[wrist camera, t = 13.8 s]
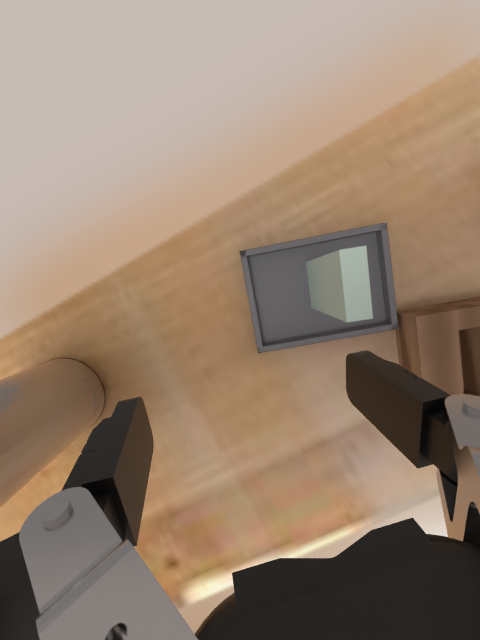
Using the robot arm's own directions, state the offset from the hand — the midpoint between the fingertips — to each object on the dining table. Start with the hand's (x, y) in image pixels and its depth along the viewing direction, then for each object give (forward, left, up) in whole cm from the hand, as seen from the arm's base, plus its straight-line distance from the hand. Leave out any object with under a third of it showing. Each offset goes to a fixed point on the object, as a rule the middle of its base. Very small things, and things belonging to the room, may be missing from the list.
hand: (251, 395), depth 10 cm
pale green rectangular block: (+8, +3, -20) cm, 22 cm away
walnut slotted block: (+21, -8, -20) cm, 30 cm away
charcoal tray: (+8, +2, -20) cm, 22 cm away
